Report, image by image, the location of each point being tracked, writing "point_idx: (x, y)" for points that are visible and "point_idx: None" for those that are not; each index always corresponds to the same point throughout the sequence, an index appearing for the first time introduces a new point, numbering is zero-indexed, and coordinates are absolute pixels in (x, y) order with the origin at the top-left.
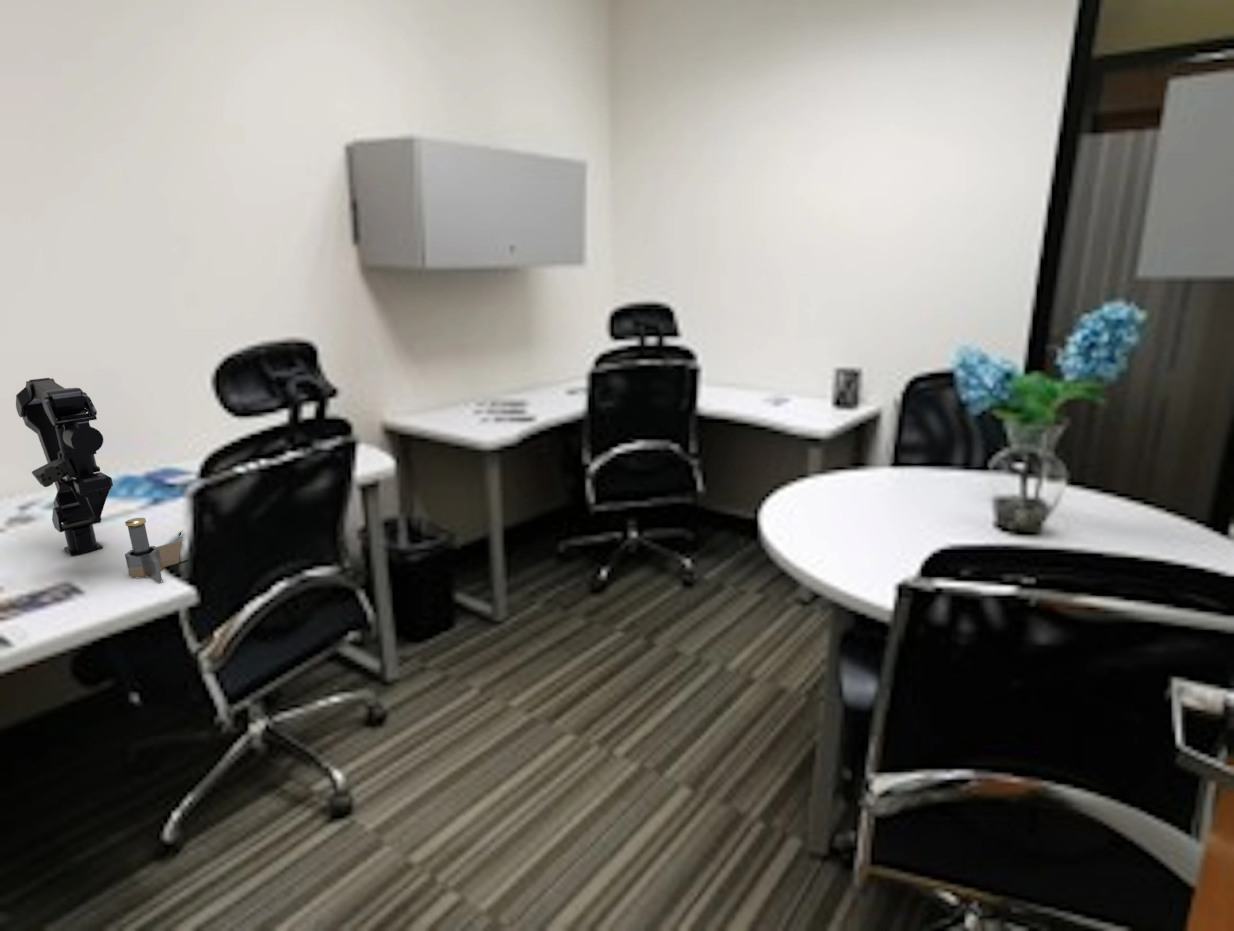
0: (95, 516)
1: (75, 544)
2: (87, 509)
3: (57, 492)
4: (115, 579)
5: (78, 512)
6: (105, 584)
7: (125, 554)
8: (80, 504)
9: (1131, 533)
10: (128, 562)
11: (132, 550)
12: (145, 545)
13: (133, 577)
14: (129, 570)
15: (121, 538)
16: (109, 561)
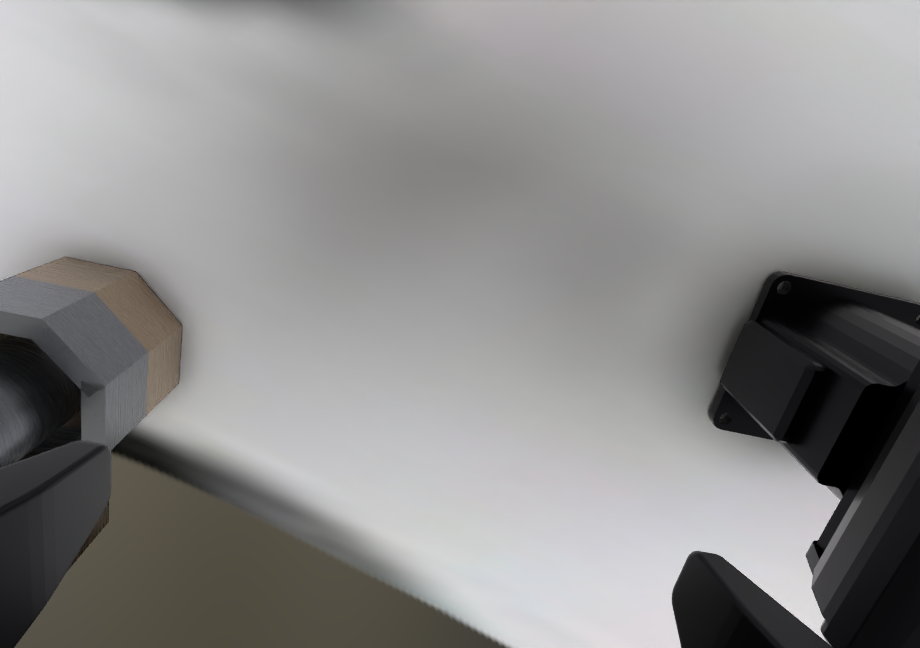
0: (70, 450)
1: (815, 333)
2: (874, 601)
3: None
4: (132, 194)
5: (909, 524)
6: (97, 119)
7: (35, 319)
8: (729, 594)
9: None
10: (27, 291)
11: (82, 384)
12: None
13: (61, 258)
14: (90, 276)
15: (746, 534)
16: (466, 331)
